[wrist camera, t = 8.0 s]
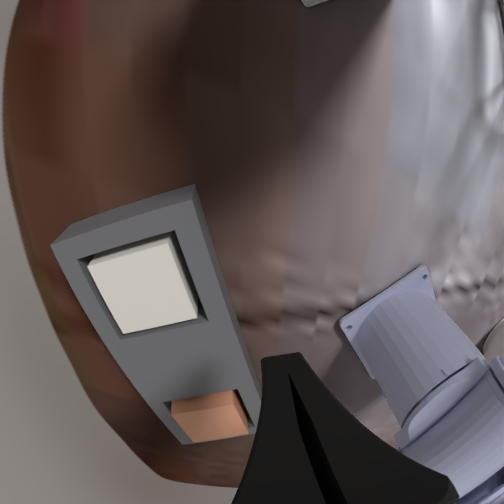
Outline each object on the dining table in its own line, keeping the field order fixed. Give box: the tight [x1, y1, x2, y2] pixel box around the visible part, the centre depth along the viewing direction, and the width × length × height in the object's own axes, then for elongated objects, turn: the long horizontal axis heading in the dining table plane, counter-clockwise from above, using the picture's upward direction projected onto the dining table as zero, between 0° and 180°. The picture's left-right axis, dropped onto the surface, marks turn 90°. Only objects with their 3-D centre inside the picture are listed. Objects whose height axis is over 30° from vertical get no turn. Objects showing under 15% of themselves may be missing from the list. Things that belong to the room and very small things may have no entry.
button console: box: [51, 184, 262, 445], centre depth 19 cm, size 20×8×3 cm, turn 13°
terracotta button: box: [171, 389, 249, 442], centre depth 21 cm, size 5×5×3 cm
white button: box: [87, 230, 198, 334], centre depth 17 cm, size 5×5×3 cm
